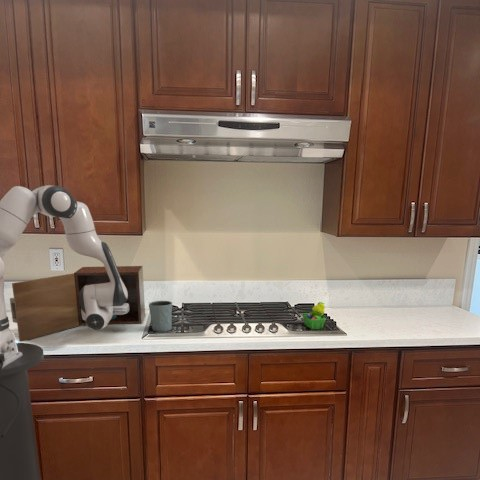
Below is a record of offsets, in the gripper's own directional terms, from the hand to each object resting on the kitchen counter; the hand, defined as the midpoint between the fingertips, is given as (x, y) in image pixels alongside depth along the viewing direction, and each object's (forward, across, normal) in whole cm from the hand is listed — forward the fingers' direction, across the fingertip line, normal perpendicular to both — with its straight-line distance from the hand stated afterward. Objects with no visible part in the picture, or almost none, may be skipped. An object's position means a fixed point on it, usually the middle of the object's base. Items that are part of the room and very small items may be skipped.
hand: (108, 304), depth 210 cm
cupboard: (+11, 0, +10) cm, 15 cm away
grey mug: (-8, -24, +10) cm, 27 cm away
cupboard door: (-7, +26, +10) cm, 28 cm away
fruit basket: (-10, -93, +10) cm, 94 cm away
